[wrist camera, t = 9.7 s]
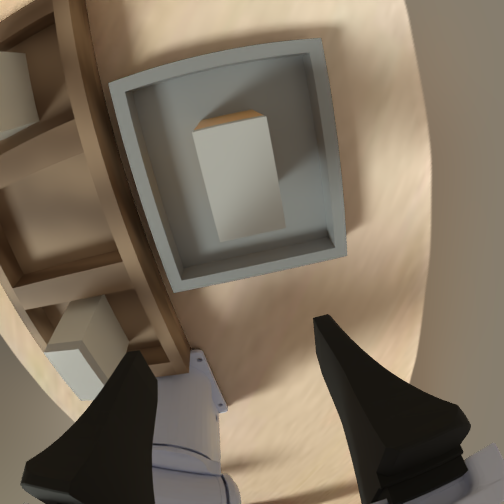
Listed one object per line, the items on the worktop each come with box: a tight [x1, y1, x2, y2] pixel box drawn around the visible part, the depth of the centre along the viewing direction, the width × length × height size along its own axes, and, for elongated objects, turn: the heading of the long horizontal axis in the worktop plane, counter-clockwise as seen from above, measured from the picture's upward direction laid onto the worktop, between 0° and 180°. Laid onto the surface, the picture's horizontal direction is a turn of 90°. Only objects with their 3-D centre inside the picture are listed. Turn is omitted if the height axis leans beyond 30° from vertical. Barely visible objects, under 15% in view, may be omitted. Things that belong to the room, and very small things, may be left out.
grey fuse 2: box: [44, 295, 129, 401], centre depth 20 cm, size 5×3×6 cm, turn 11°
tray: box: [108, 38, 347, 293], centre depth 18 cm, size 14×12×2 cm
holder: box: [0, 0, 191, 377], centre depth 18 cm, size 28×12×3 cm, turn 11°
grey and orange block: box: [192, 109, 286, 242], centre depth 16 cm, size 5×3×6 cm, turn 11°
